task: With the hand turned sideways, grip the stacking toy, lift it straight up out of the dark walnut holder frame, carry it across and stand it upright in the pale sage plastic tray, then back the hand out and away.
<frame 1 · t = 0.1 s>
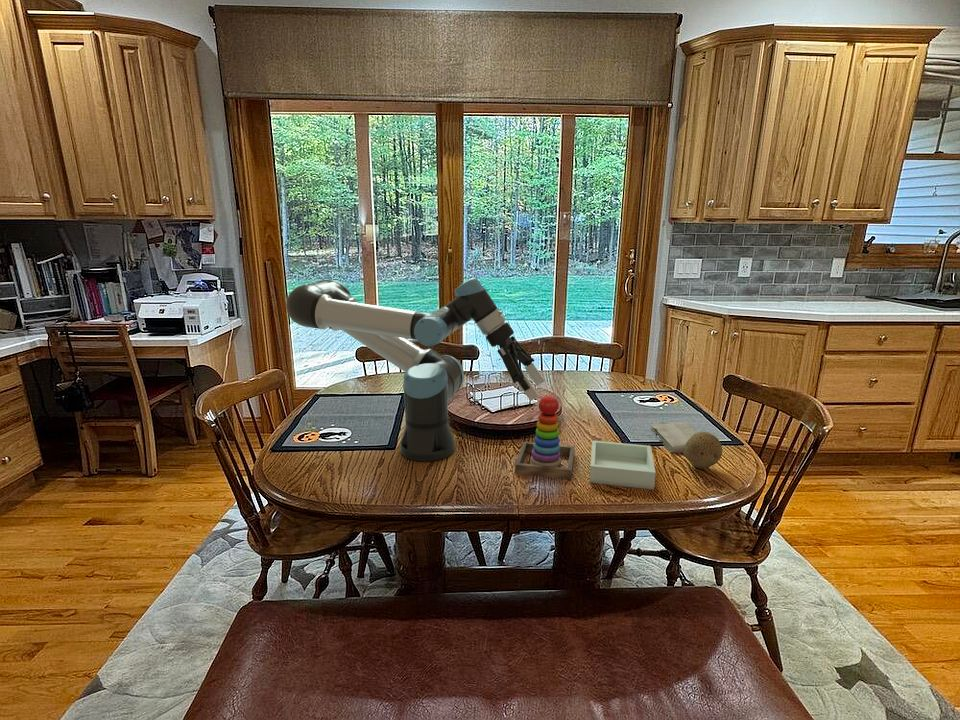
hand: (538, 390, 145), 15 cm above the table, tool tilted 35°, fingers open, 13 cm apart
natural sponge: (700, 469, 131), on the table
walnut holder: (545, 463, 134), on the table
washcloth: (678, 441, 149), on the table
sage tray: (620, 471, 130), on the table
stacking toy: (545, 464, 134), resting in walnut holder
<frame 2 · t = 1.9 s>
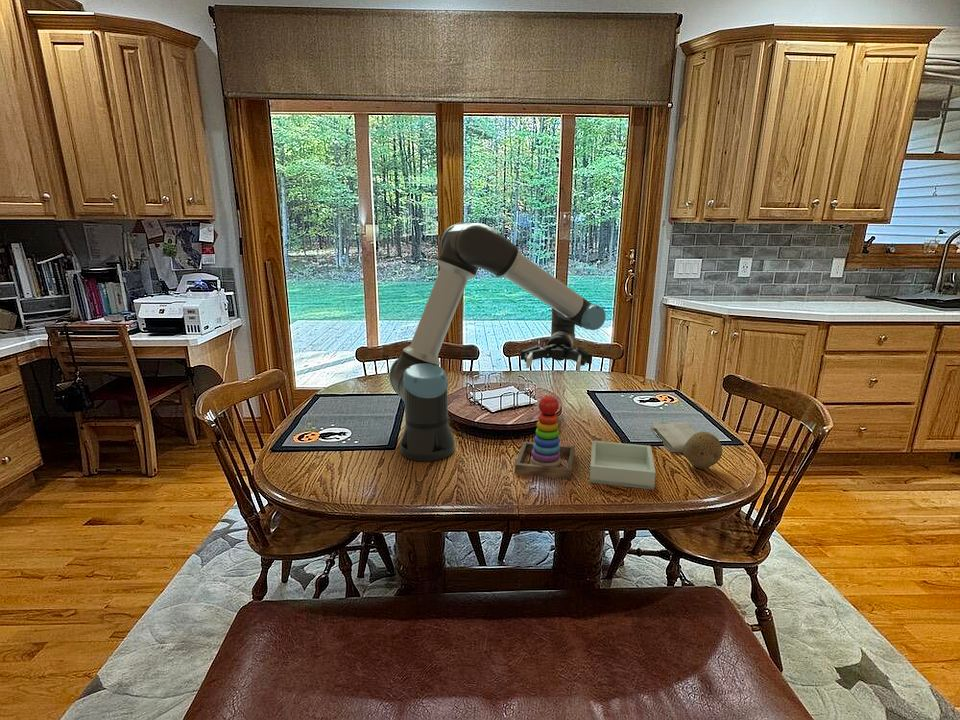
hand: (552, 364, 138), 24 cm above the table, tool horizontal, fingers open, 13 cm apart
nothing on the table moved.
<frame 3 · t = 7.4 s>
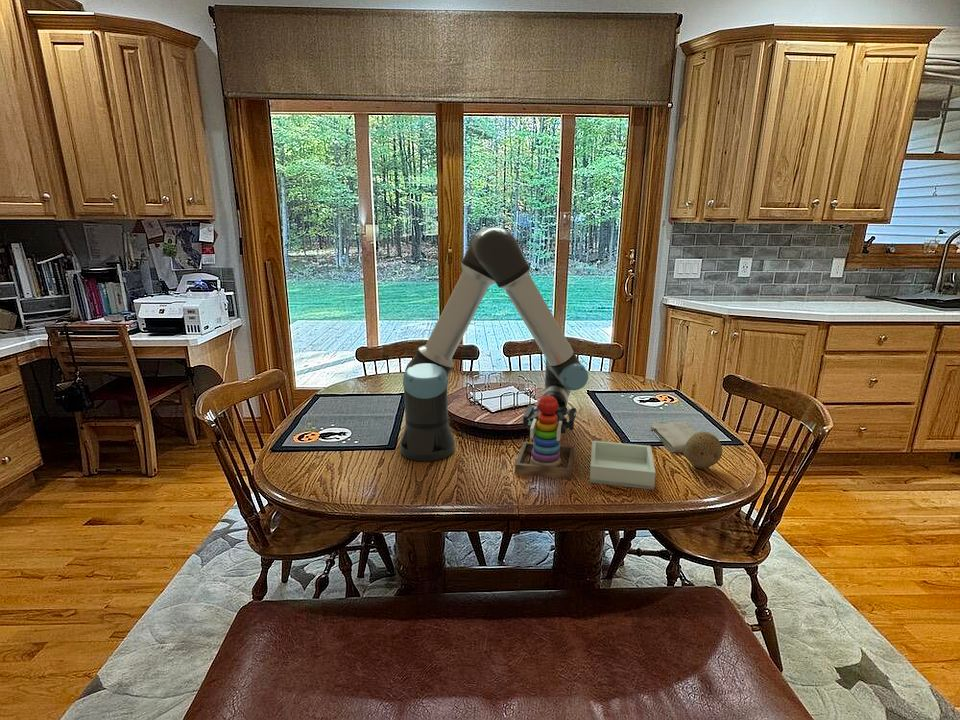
hand: (544, 434, 127), 11 cm above the table, tool horizontal, fingers closed on stacking toy, 6 cm apart
stacking toy: (545, 464, 134), resting in walnut holder, touching gripper
everything else where it was.
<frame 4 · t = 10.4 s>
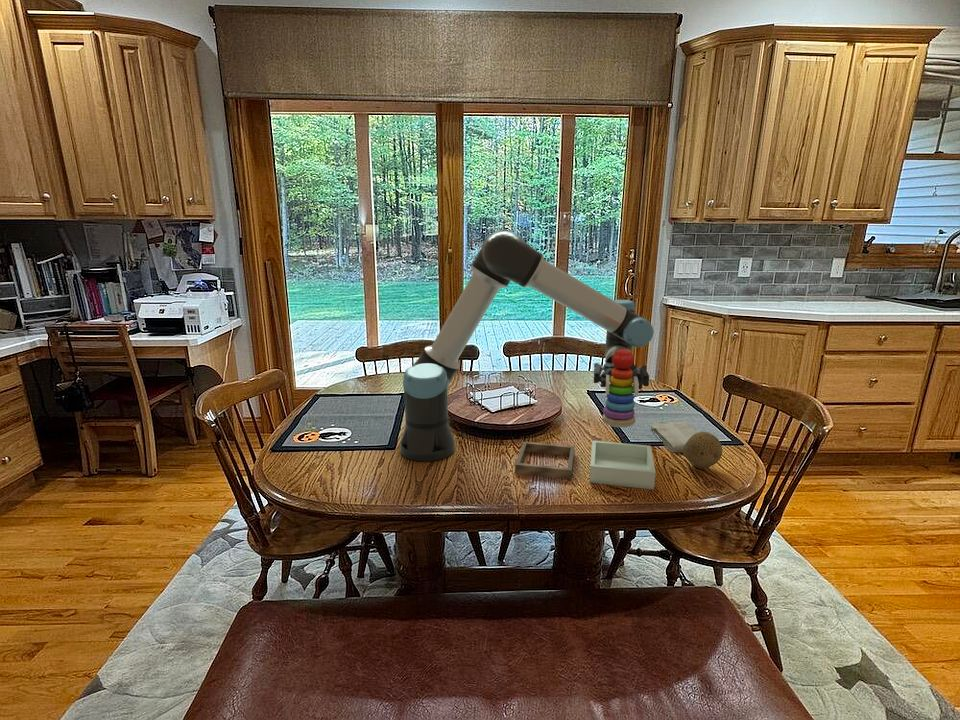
hand: (622, 389, 119), 24 cm above the table, tool horizontal, fingers closed on stacking toy, 6 cm apart
stacking toy: (618, 423, 127), point 13 cm above the table, touching gripper
everything else where it was.
when the fingers open (13 cm above the table, at t = 13.2 s): stacking toy drops 1 cm, resting on sage tray.
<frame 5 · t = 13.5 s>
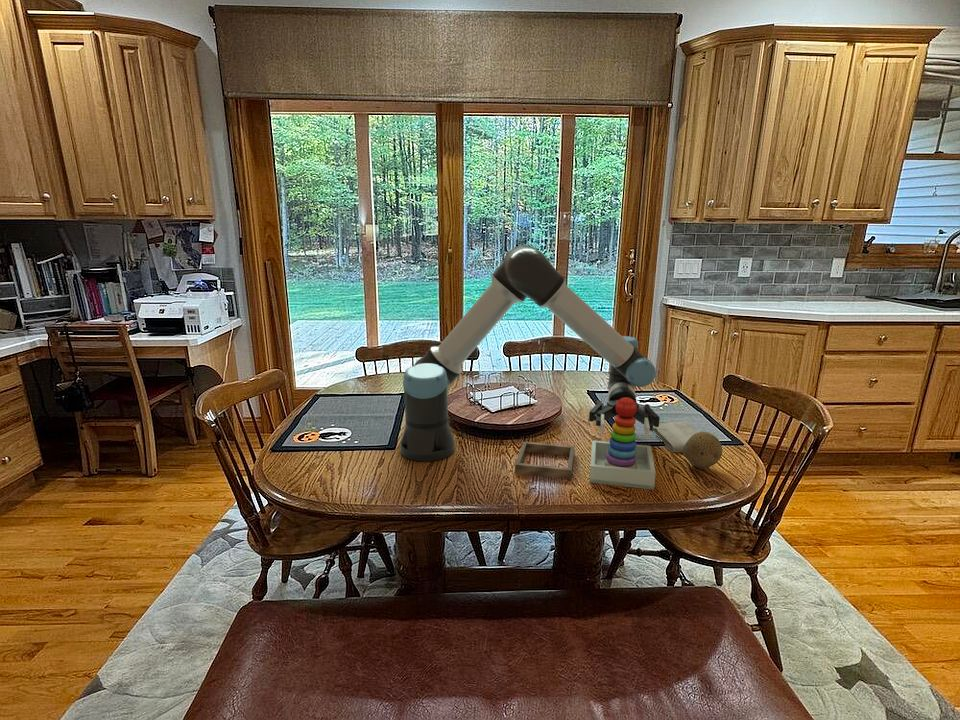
hand: (624, 431, 122), 13 cm above the table, tool horizontal, fingers open, 10 cm apart
stacking toy: (620, 468, 130), point 1 cm above the table, touching sage tray
everything else where it was.
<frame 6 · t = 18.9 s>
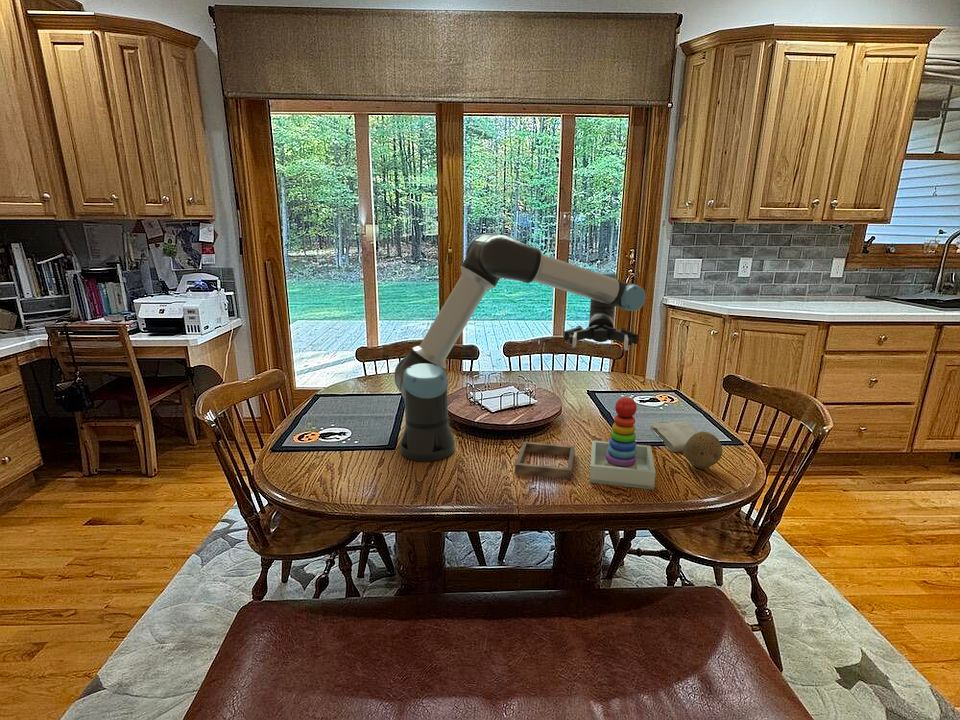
hand: (599, 344, 135), 30 cm above the table, tool horizontal, fingers open, 13 cm apart
nothing on the table moved.
at the end: stacking toy inside the target area on the sage tray (0.1 cm from its centre), point 0.8 cm above the sage tray's base; stacking toy tilted 0°; the gripper is holding nothing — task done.
